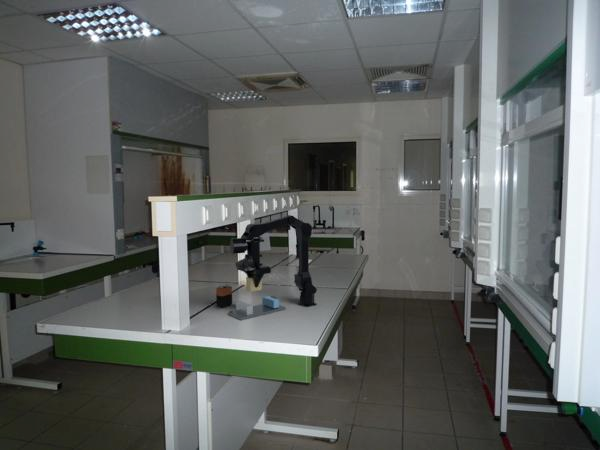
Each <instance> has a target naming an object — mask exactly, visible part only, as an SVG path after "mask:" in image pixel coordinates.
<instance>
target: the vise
mask: <svg viewBox="0 0 600 450" xmlns="http://www.w3.org/2000/svg"><path fill="white" fill-rule="evenodd" d="M286 308H287V307H286V306H283V305H280V304H279V307H278V308H271V307H269V306H266V305H263V304H256V305H252V304H250V303H247V302H245V301H237V302H235V310H232V311H228V312H227V315H228V316H230V317H233V318H235V319H237V320H240V321H245V320H249V319H252V318H253V319H254V318H257V317H261V315H262V316H265V315H268V314H269V315H270V314H274V313H277V312H281V311H285V310H287V309H286Z"/></svg>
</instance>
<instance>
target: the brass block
mask: <svg viewBox="0 0 600 450" xmlns="http://www.w3.org/2000/svg"><path fill="white" fill-rule="evenodd" d="M262 281H263V278H262V279H261V281H260V283H259V285H258V287H255V281H254V276H250V277H247V276H246V277H245V284H246V285H245V286H246V287H245V288H246V289H245V290H246V291H247V292H250V293H252V292H257V291H262V289H263V284H262V283H263V282H262Z"/></svg>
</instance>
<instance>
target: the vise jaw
mask: <svg viewBox="0 0 600 450" xmlns="http://www.w3.org/2000/svg"><path fill="white" fill-rule="evenodd" d="M261 299H262V304H263V305H266V306H269V307H271V308H278V307H279V305H280V299H279V296H276V295H270V296H269V295H266V296H262V298H261Z"/></svg>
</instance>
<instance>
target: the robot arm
mask: <svg viewBox="0 0 600 450" xmlns="http://www.w3.org/2000/svg"><path fill="white" fill-rule="evenodd" d="M285 226H290V227H291V228H292V229H294V233H295V236H296V238H297V241H298V271H297V273H295V274H294V275H293V276H294V277H293V278H294V281H293V283H295V286H296V287H297V288H298V291H300V295H299V302H298V303H297V304H298V305H300V306H303V307H307V308H308V307H311V306H316V305H317V304H318V303H316V302H315V294H316V293H317V290H318V288H317V287H316V286H314V285H313V280H312V276H311V273H310V270H309V264H310V263H309V257H310V256H309V249H310V248H309V241H310V239H311V236H312V232H313V227H312V224H310V223H309V222H304V221H303V220H300V218H299V219H298V218H297V217H295V216H294V215H290V214H287V215H285V216H282V217H278V218H276V219H275V218H274V219H272V220H268V221H264V222H256V223H255V222H254V223H249V224H247V225H246V227H245V229H244V231H243V233H242V235H241V236H240V237H237V238H236V237H231V238H230V244H229V251H230V254H233V255H234V254H245V253H246V254H245V255H244V258H242V259H240V260H238V261H237V262H235V266H236V269H237V271H240V272H243V273H244V274H246V277H250V276H254V281H255V287H258V285H259V283H260V281H261V279H262V280H263V278H264V275H266V274H271V273H272V268H271V267H270V266H269V265H263V263H262V262H261V257H263V254H262V253H261V243H264V242H265V240H264V239H263V238H262V236H263V235H264V234H266V233H268V232H269V231H273V230H276V229H278V228H281V227H285Z"/></svg>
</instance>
